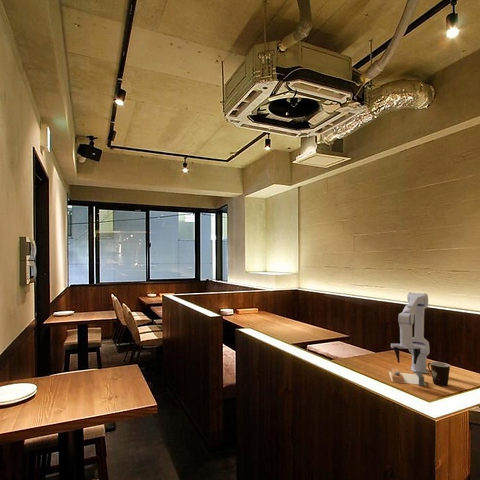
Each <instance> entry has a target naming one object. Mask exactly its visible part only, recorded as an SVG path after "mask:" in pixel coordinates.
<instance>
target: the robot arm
mask: <svg viewBox="0 0 480 480" xmlns="http://www.w3.org/2000/svg"><path fill="white" fill-rule="evenodd" d="M406 298H407V302H408V304H406V305H405V306H404V308H403V309H402V312H400V313H398V317H397V321H398V327H399V342H400V343H390V348H391V349H393V352H394V355H395V356H396V359H397V363H398V364H399V363H400V360H401V359H400V349H404V350H408V351H409V353H410V355H411V366H410V369H411V371H412V372H413V373H416V371H420V372H421V373H422V374H429V372H430V371H428V369H427V368H428V363H427V356H428V357H429V354H430V349H431V348H430V342H429V341H428V340H427V339H426V338H425V337H424V336H425V335H424V334H425V309H428V306H429V295H428V294H427V293H425V292H424V293H421V292H409V291H408V293H407V297H406ZM413 325H414V336H413Z"/></svg>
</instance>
